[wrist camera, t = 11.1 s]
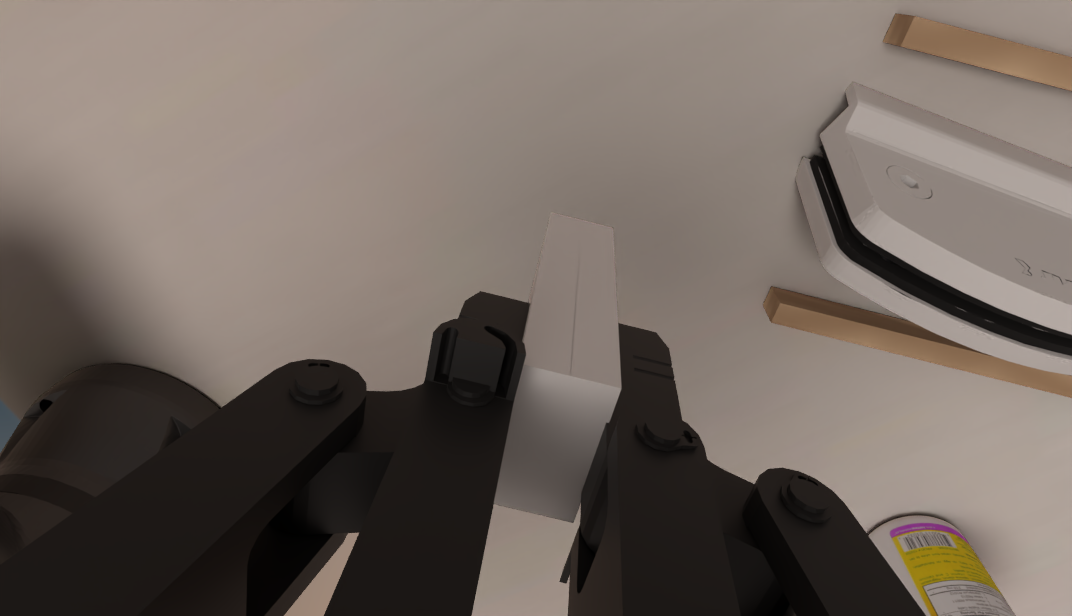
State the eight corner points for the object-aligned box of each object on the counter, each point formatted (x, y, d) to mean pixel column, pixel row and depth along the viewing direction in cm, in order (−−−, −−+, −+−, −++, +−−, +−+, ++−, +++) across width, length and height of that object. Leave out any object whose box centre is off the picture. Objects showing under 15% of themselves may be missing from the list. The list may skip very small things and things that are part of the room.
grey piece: (1156, 200, 31) (1274, 357, 24) (1069, 265, 35) (1152, 418, 28) (844, 78, 30) (878, 208, 23) (788, 158, 33) (803, 291, 27)
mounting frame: (1097, 389, 36) (1122, 410, 34) (762, 305, 36) (771, 322, 34) (1310, 122, 29) (1356, 132, 27) (895, 13, 29) (914, 16, 27)
